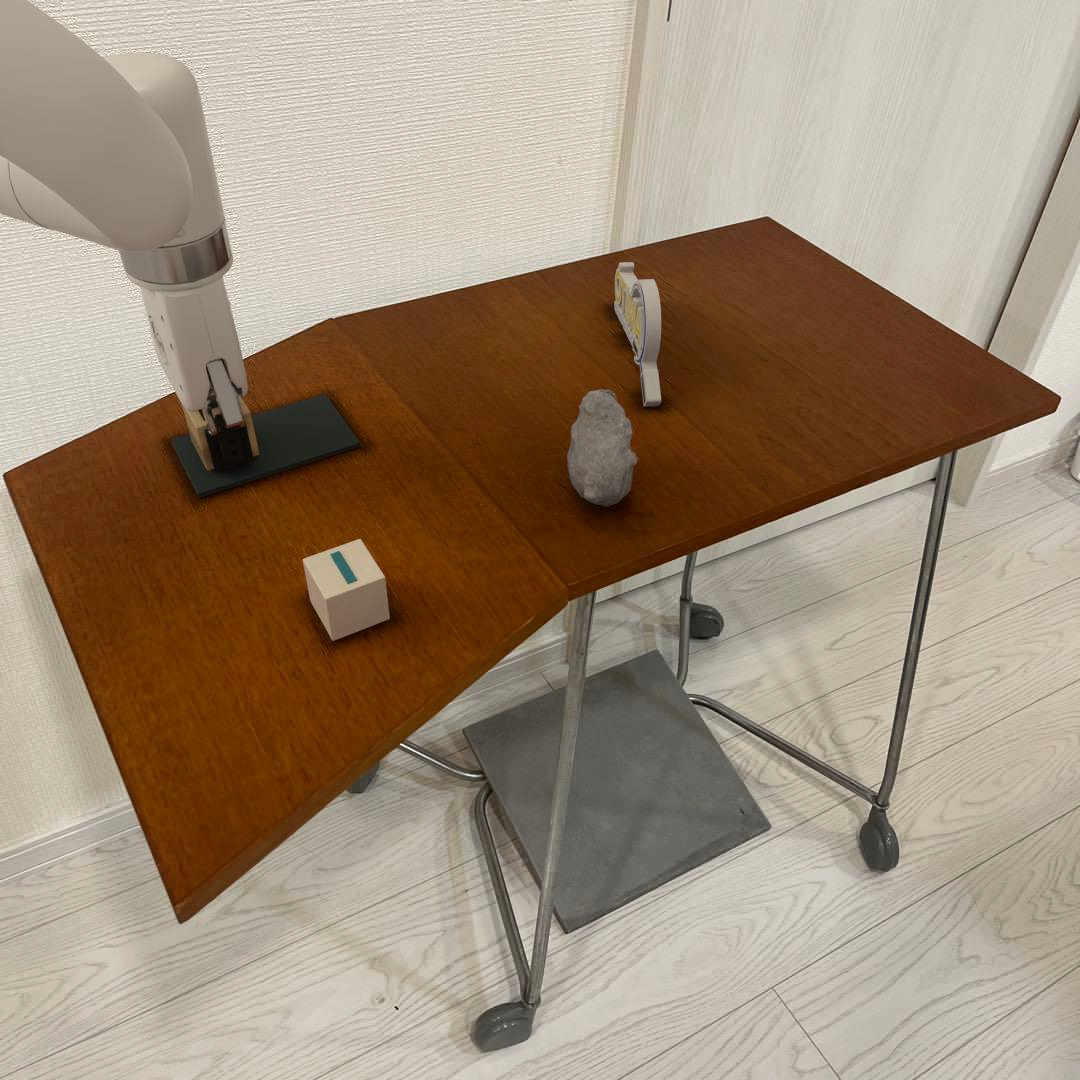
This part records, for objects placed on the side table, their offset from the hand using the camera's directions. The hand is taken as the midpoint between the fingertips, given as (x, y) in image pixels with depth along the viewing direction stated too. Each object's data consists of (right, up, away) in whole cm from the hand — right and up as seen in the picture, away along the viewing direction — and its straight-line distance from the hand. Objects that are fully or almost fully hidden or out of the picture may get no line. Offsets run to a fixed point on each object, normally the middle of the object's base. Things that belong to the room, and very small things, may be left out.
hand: (223, 445), depth 84 cm
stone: (+31, -4, -1) cm, 32 cm away
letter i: (+13, -13, -11) cm, 21 cm away
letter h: (0, 0, 0) cm, 0 cm away
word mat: (+3, 0, +2) cm, 4 cm away
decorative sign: (+36, +10, +14) cm, 40 cm away
